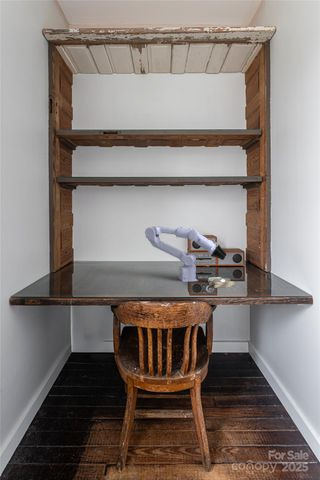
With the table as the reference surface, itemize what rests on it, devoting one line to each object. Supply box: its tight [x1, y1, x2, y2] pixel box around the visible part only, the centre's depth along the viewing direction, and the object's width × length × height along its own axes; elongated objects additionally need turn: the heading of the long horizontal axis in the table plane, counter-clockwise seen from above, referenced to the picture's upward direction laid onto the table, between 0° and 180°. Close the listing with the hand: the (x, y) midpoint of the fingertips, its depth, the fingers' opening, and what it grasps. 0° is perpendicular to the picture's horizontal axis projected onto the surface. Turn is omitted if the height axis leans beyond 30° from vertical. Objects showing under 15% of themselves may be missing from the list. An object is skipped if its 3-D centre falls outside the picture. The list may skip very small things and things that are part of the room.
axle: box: [212, 277, 232, 286], centre depth 175 cm, size 9×4×4 cm, turn 106°
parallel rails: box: [208, 280, 236, 289], centre depth 175 cm, size 12×7×2 cm, turn 106°
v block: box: [207, 276, 225, 283], centre depth 182 cm, size 8×5×2 cm, turn 106°
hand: (225, 257), depth 181 cm, fingers open, 7 cm apart
